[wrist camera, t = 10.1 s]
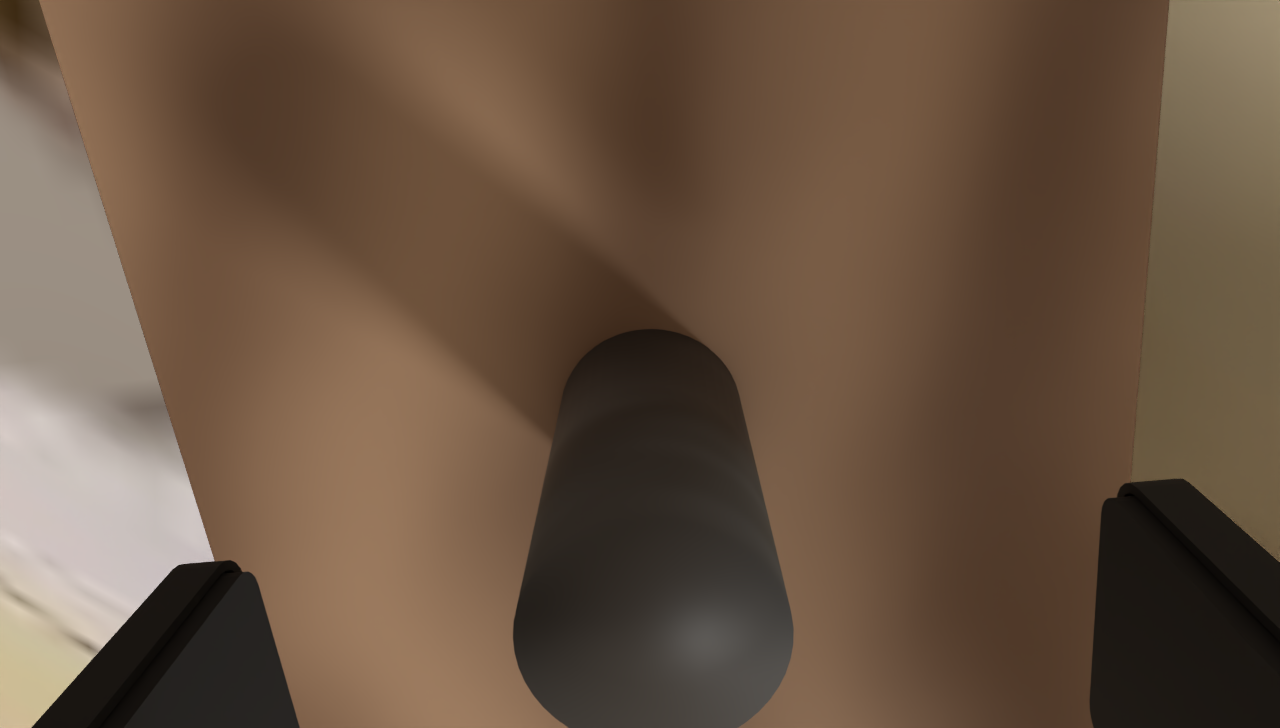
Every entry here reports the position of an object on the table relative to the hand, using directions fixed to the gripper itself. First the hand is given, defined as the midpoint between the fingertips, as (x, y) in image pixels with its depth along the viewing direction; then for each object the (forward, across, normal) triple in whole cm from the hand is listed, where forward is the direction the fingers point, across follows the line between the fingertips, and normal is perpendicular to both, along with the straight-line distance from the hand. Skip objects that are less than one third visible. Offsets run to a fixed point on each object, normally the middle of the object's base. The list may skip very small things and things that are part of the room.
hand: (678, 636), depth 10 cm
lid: (+7, 0, 0) cm, 7 cm away
